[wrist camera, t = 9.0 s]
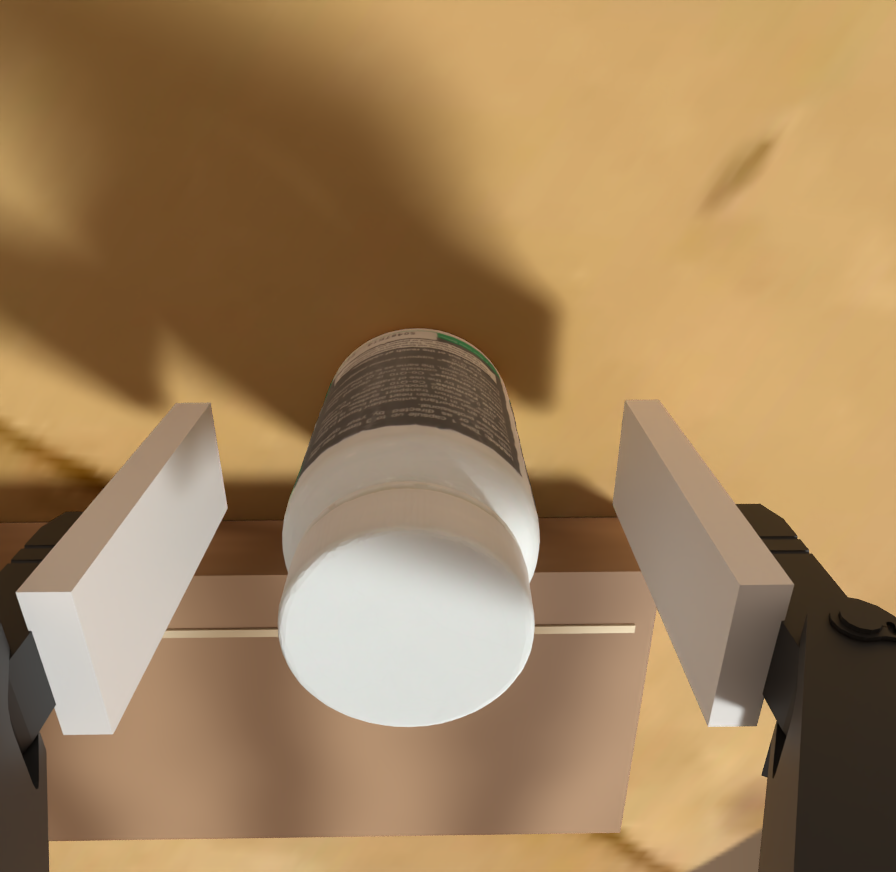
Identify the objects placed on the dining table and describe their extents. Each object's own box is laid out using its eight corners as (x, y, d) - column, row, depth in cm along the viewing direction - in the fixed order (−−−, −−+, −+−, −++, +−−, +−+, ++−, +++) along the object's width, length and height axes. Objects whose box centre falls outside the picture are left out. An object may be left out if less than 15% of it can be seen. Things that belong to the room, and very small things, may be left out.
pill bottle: (297, 356, 18) (192, 555, 10) (479, 298, 17) (514, 461, 9) (365, 509, 20) (321, 772, 12) (530, 462, 19) (593, 706, 11)
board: (-43, 772, 24) (-94, 845, 22) (-153, 524, 19) (-232, 581, 17) (602, 763, 24) (620, 834, 22) (636, 517, 20) (663, 572, 17)
